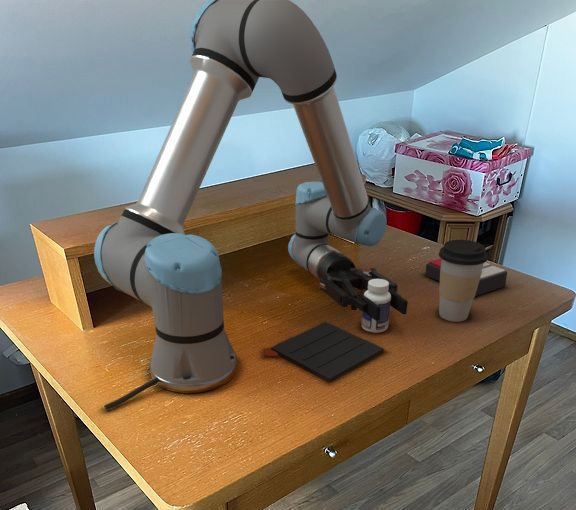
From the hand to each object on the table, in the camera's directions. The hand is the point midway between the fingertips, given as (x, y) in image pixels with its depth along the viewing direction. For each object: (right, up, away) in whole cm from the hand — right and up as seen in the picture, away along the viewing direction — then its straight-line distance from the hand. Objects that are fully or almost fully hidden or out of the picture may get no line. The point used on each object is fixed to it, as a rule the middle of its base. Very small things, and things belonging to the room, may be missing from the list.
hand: (391, 310), depth 114 cm
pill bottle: (-2, -3, +7) cm, 8 cm away
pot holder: (-13, -8, -1) cm, 16 cm away
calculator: (+21, +10, +26) cm, 35 cm away
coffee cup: (+15, 0, +12) cm, 19 cm away
